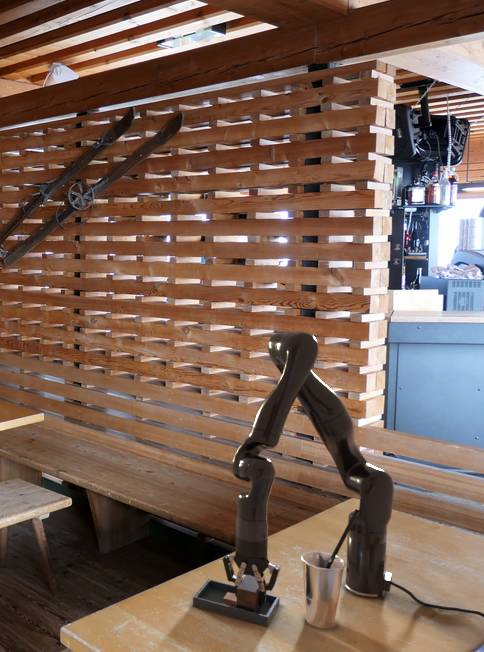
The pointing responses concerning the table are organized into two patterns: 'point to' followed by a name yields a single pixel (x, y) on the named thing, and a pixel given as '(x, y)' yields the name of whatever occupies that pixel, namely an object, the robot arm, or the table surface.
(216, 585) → the tray
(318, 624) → the metal cup with straw
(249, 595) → the brown long rectangular block
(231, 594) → the copper square block
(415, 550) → the table surface
